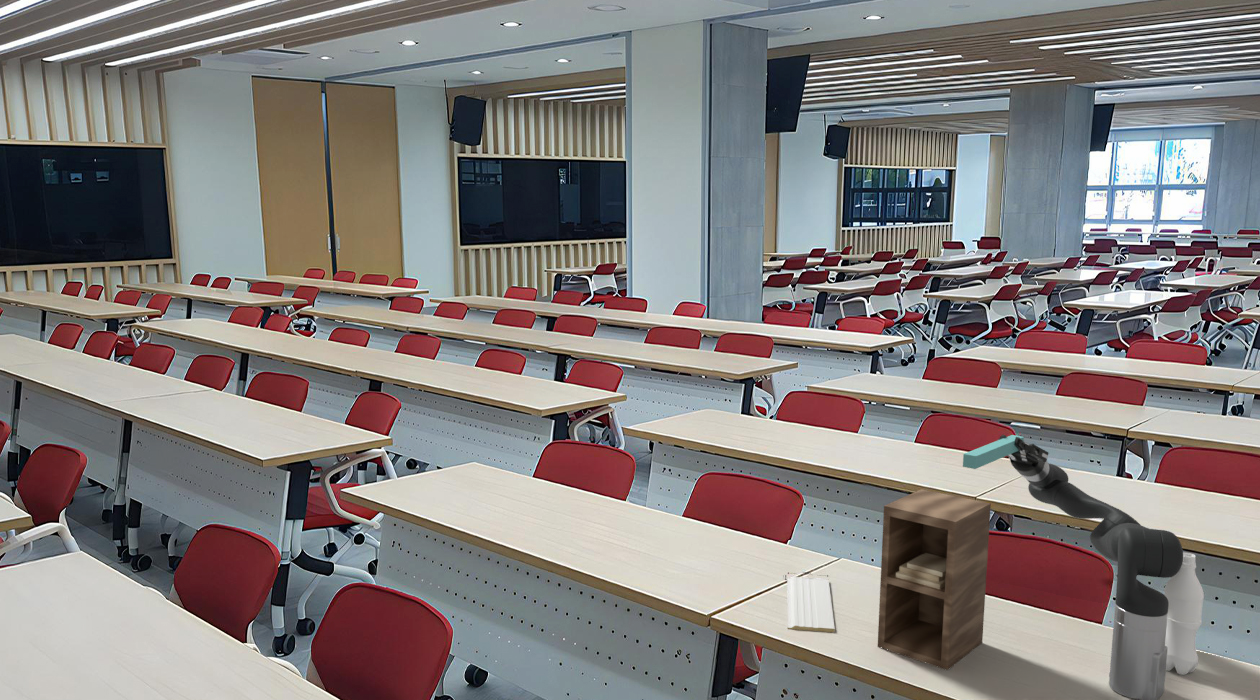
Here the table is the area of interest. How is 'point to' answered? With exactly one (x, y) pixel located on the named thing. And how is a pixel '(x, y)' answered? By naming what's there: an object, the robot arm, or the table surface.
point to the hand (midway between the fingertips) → (1009, 439)
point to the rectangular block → (990, 452)
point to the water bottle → (1183, 616)
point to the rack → (933, 576)
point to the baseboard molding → (809, 604)
